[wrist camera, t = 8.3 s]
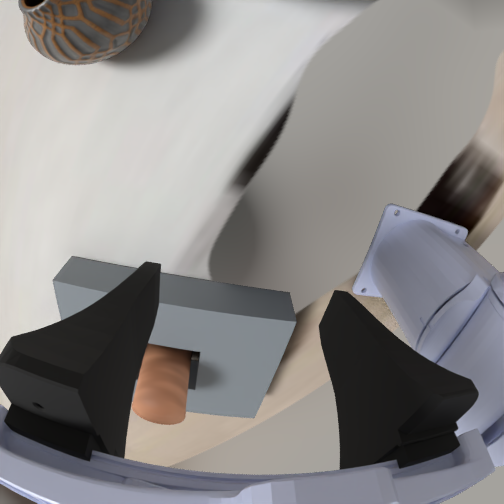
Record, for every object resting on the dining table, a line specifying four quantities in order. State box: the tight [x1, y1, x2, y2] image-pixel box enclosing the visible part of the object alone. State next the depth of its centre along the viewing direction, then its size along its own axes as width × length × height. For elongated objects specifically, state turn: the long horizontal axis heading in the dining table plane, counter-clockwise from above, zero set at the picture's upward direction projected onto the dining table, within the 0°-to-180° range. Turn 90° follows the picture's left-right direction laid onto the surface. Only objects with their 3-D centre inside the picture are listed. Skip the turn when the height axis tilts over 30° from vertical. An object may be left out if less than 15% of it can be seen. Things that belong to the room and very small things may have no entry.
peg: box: [132, 343, 192, 425], centre depth 22 cm, size 4×4×8 cm
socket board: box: [53, 256, 297, 418], centre depth 24 cm, size 18×14×4 cm
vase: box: [19, 0, 152, 65], centre depth 9 cm, size 7×7×9 cm
